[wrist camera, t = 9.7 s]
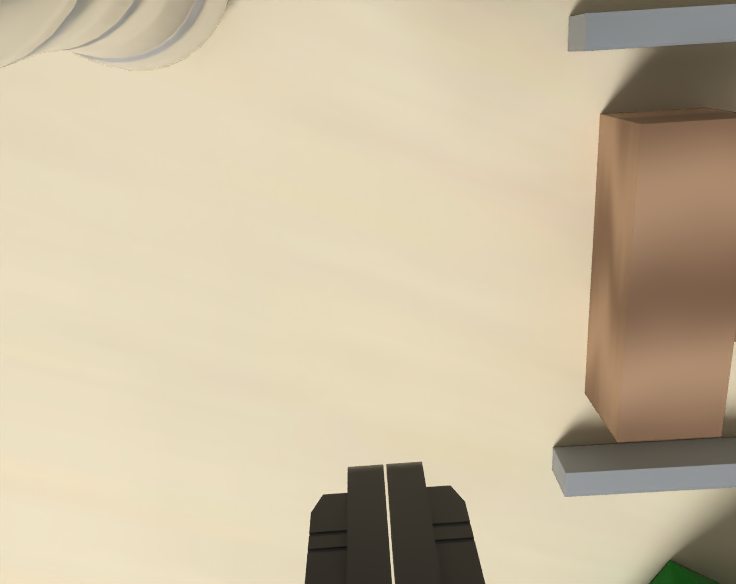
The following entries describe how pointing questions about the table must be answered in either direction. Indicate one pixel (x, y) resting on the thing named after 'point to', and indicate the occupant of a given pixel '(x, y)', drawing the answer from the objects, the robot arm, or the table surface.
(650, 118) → the t block
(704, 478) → the bay frame
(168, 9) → the plastic bottle
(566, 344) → the table surface
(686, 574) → the soya milk
